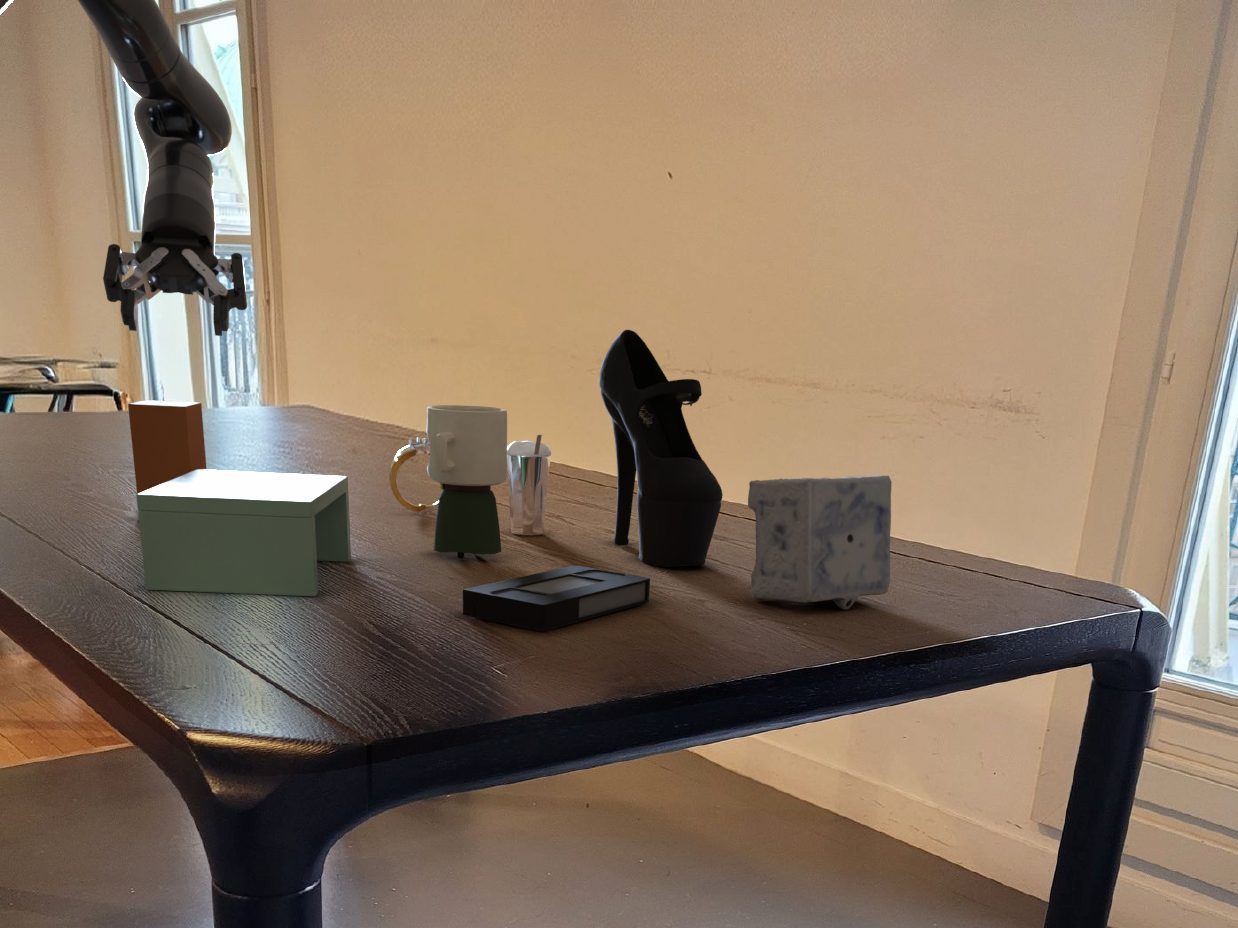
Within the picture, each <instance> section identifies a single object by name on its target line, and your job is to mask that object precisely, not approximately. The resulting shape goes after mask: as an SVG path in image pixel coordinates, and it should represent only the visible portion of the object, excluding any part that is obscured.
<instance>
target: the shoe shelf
mask: <svg viewBox="0 0 1238 928" xmlns="http://www.w3.org/2000/svg"><path fill="white" fill-rule="evenodd" d="M135 496H136V504H137V505H136V507H137V509H138V510H139V511H138V515H139V520H138V523H139V535H140V543H141V544H140V545H141V554H142V564H143V574H144V583H145V589H146V590H147V591H168V592H191V593H194V592H195V593H215V594H216V593H217V594H218V593H219V594H243V595H263V596H266V595H267V596H289V597H316V596H317V595H318V594H319V575H318V574H319V573H318V562H319V561H320V562H322V561H323V562H341V563H342V562H344V563H349V562H350V561H351V560H352V551H351V549H352V548H351V546H352V545H351V525H350V523H351V522H350V499H349V498H350V496H349V476H347V475H330V474H329V475H327V474H306V473H305V474H304V473H287V472H285V473H284V472H283V473H282V472H265V471H264V472H262V471H242V470H241V471H240V470H239V471H238V470H221V469H220V470H217V469H207V470H199V469H197V470H194V471H192V472H190V473H187V474H185V475H182V476H180V477H177V478H175V479H173V480H170V481H168V482H165V483H163V484H160V485H158V486H156V487H153V488H151V489H148V490H146V491H143V492H141V493H139V494H137V493H136V495H135Z"/></svg>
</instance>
